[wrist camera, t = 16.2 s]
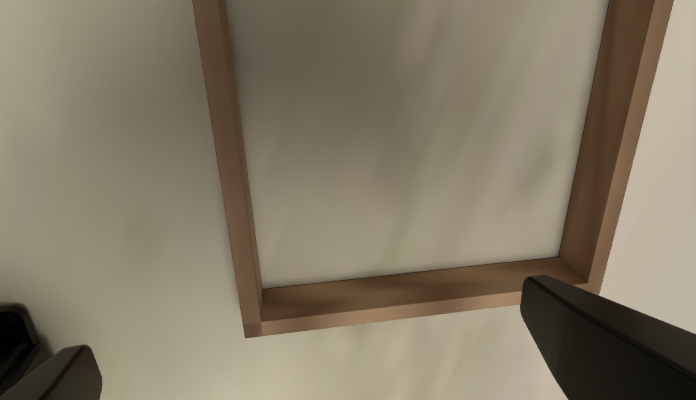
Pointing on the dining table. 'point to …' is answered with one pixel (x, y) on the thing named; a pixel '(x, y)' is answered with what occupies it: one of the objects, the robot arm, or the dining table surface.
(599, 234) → the walnut tray
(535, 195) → the dining table surface
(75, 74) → the dining table surface
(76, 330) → the dining table surface
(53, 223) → the dining table surface
